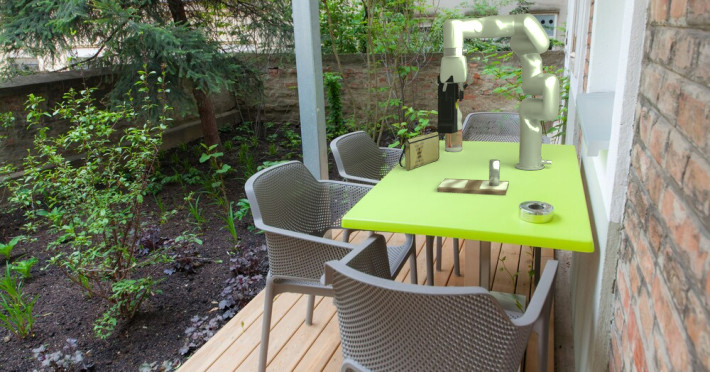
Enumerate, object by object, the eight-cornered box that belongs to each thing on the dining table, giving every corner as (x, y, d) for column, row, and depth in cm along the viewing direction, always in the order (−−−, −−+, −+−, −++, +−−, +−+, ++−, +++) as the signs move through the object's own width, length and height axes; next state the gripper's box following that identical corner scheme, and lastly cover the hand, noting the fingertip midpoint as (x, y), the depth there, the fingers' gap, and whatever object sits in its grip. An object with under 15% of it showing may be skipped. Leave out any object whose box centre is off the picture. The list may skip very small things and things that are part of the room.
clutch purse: (429, 159, 258) (429, 130, 254) (441, 160, 254) (441, 131, 250) (395, 170, 237) (394, 139, 233) (407, 172, 232) (406, 140, 229)
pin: (499, 183, 198) (500, 159, 195) (498, 186, 194) (499, 161, 192) (489, 183, 199) (489, 159, 197) (488, 186, 196) (488, 161, 193)
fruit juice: (441, 151, 276) (441, 100, 269) (451, 148, 282) (451, 98, 275) (455, 152, 269) (455, 100, 262) (465, 149, 276) (466, 99, 269)
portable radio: (460, 132, 199) (461, 67, 193) (455, 134, 194) (456, 68, 188) (442, 131, 203) (442, 68, 197) (436, 133, 198) (436, 68, 192)
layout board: (508, 184, 203) (508, 180, 202) (505, 195, 188) (505, 191, 188) (445, 181, 212) (445, 177, 211) (437, 191, 198) (437, 187, 197)
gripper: (477, 51, 190) (477, 99, 194) (433, 53, 196) (434, 100, 200) (475, 52, 183) (474, 101, 188) (429, 54, 189) (430, 102, 194)
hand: (453, 100), depth 194 cm, fingers open, 4 cm apart
